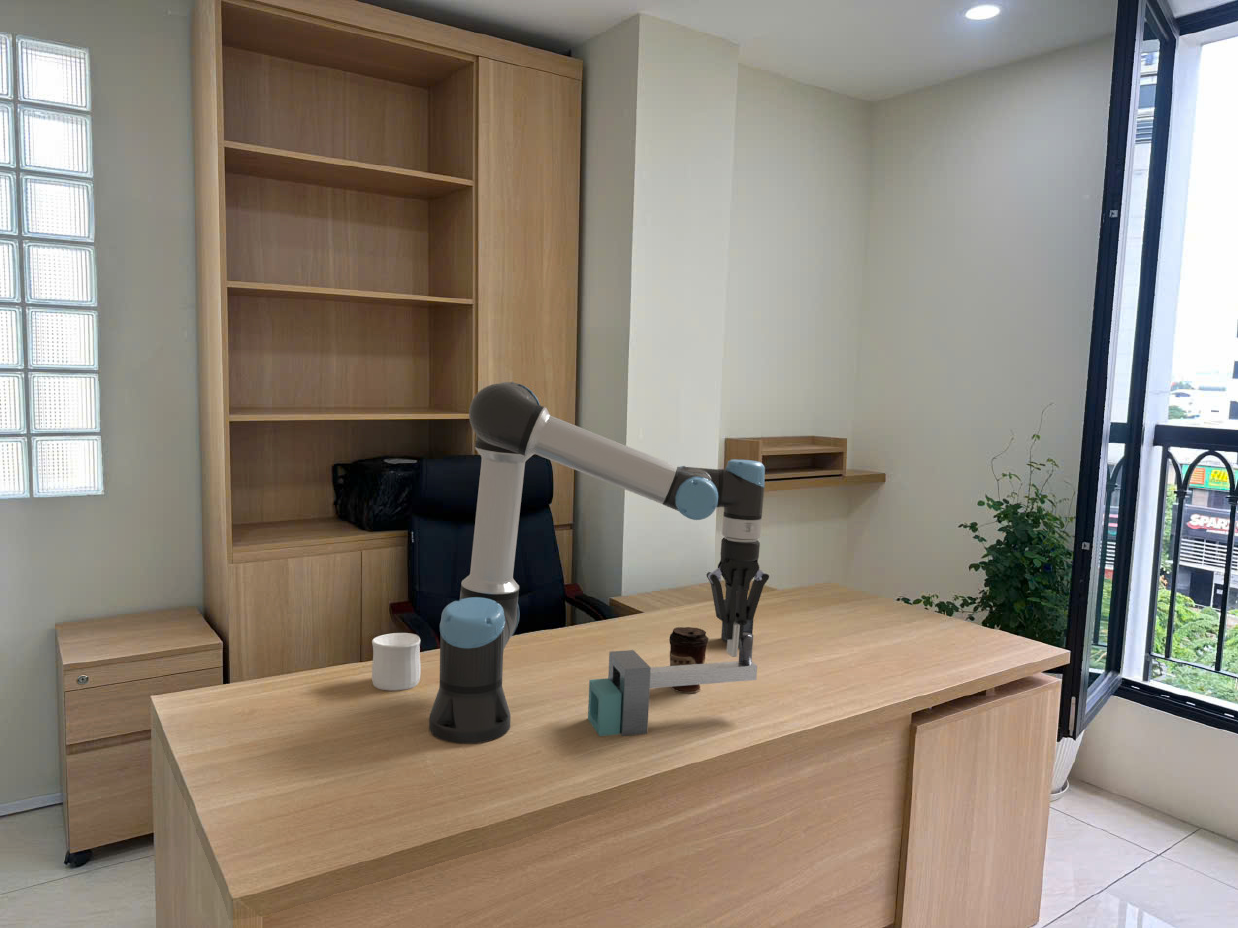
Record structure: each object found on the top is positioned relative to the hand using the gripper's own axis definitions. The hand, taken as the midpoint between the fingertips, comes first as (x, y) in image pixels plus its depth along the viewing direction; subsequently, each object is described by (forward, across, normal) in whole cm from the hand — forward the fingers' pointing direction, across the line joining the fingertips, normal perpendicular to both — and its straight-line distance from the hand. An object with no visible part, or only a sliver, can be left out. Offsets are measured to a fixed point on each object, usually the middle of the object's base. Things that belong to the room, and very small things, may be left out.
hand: (732, 654), depth 171 cm
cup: (+14, -63, +30) cm, 71 cm away
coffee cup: (+13, -3, +15) cm, 20 cm away
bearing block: (+13, -21, 0) cm, 25 cm away
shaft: (+5, -8, 0) cm, 9 cm away
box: (+12, +22, +42) cm, 49 cm away
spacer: (+13, -26, 0) cm, 29 cm away
